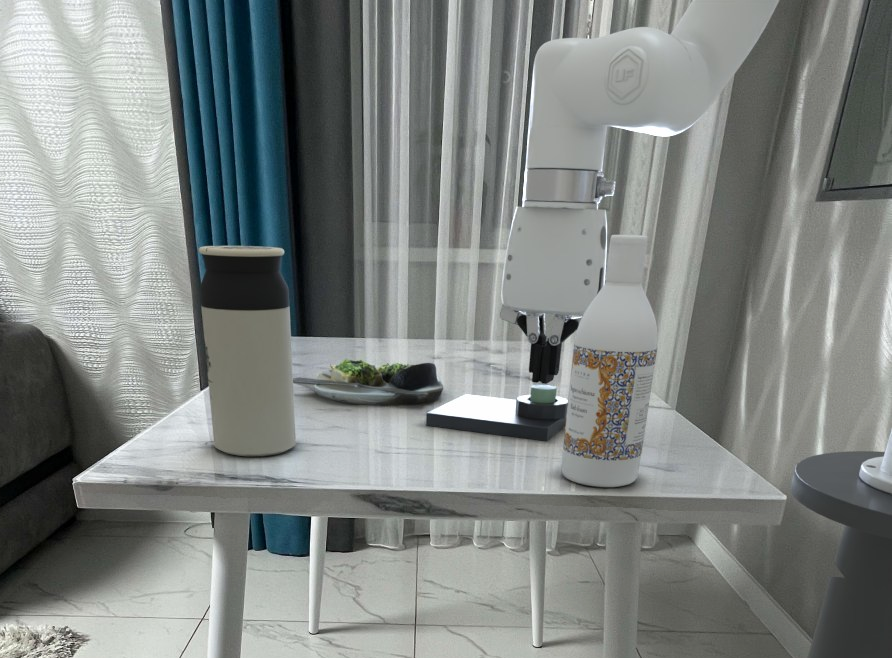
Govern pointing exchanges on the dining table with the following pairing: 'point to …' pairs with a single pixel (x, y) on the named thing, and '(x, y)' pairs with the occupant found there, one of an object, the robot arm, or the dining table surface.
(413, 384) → the salad plate
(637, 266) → the bath foam
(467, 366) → the dining table surface
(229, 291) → the travel mug
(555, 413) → the scale
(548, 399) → the button
